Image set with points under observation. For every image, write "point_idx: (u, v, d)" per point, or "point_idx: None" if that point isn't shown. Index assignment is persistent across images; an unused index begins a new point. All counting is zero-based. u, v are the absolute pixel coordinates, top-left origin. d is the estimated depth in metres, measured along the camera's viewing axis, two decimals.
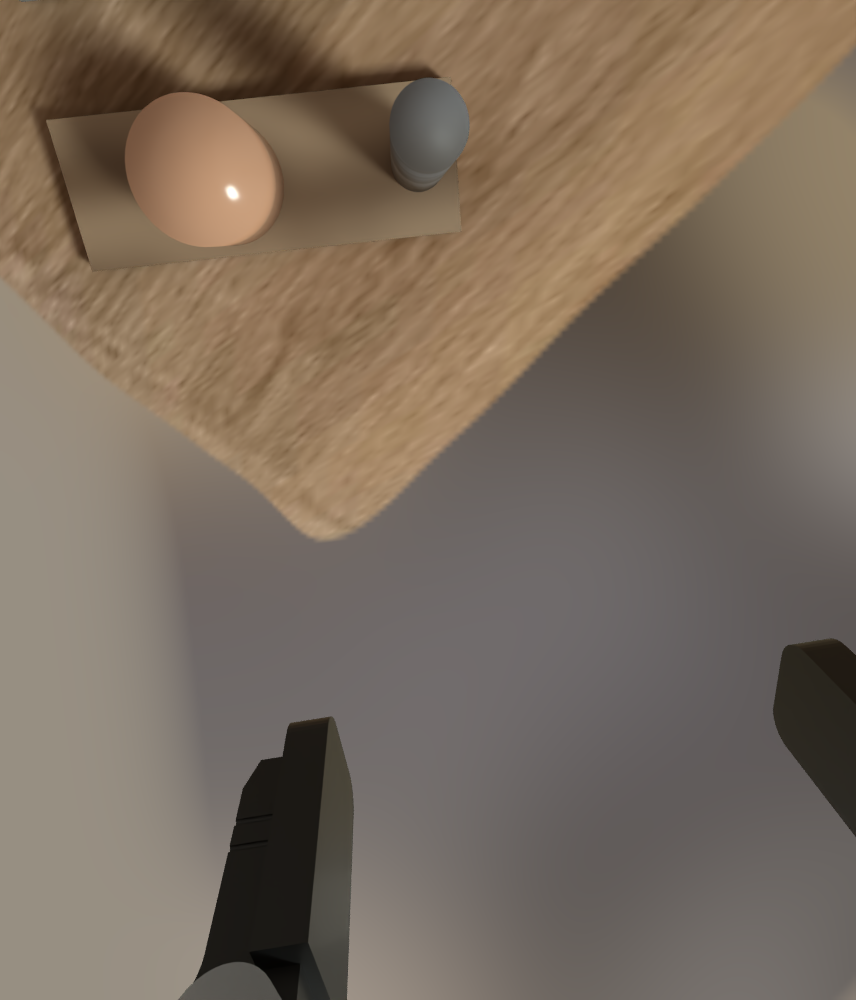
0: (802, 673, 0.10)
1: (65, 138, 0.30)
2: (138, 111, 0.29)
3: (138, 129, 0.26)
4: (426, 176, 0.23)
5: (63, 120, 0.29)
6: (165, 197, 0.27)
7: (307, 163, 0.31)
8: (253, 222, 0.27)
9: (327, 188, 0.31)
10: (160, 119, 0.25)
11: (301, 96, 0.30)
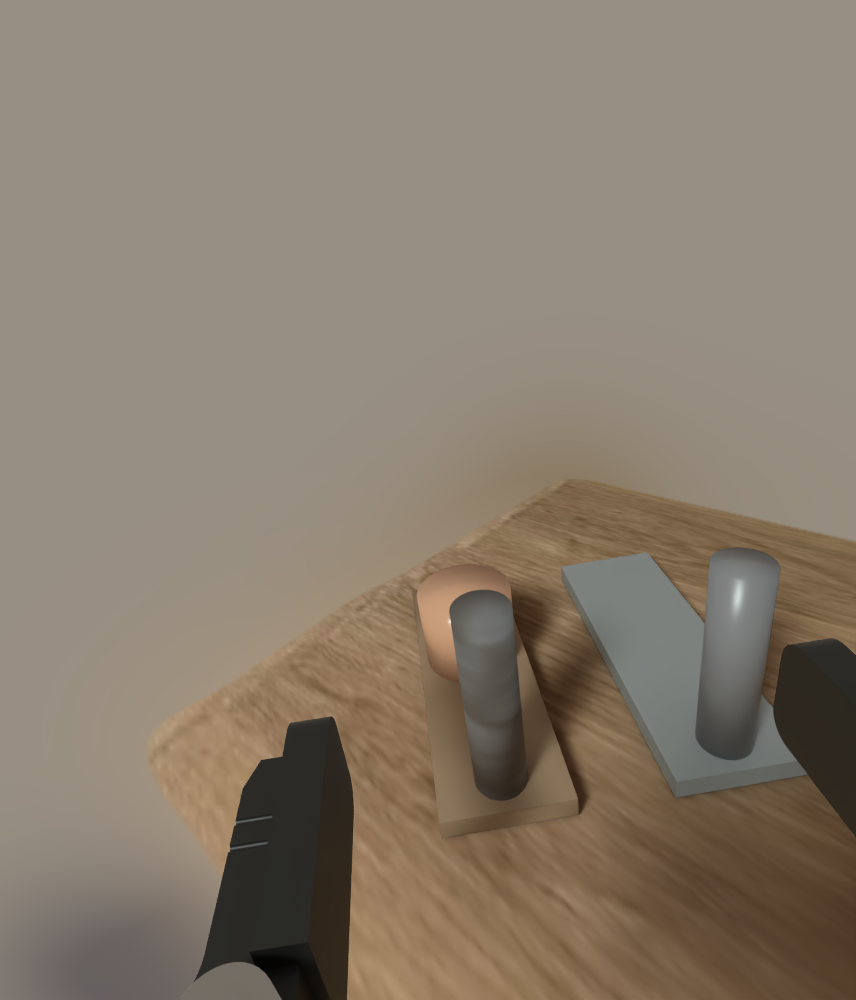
0: (802, 673, 0.10)
1: None
2: None
3: (486, 568, 0.40)
4: None
5: None
6: (448, 578, 0.40)
7: None
8: (433, 616, 0.36)
9: None
10: (493, 576, 0.39)
11: (537, 691, 0.36)
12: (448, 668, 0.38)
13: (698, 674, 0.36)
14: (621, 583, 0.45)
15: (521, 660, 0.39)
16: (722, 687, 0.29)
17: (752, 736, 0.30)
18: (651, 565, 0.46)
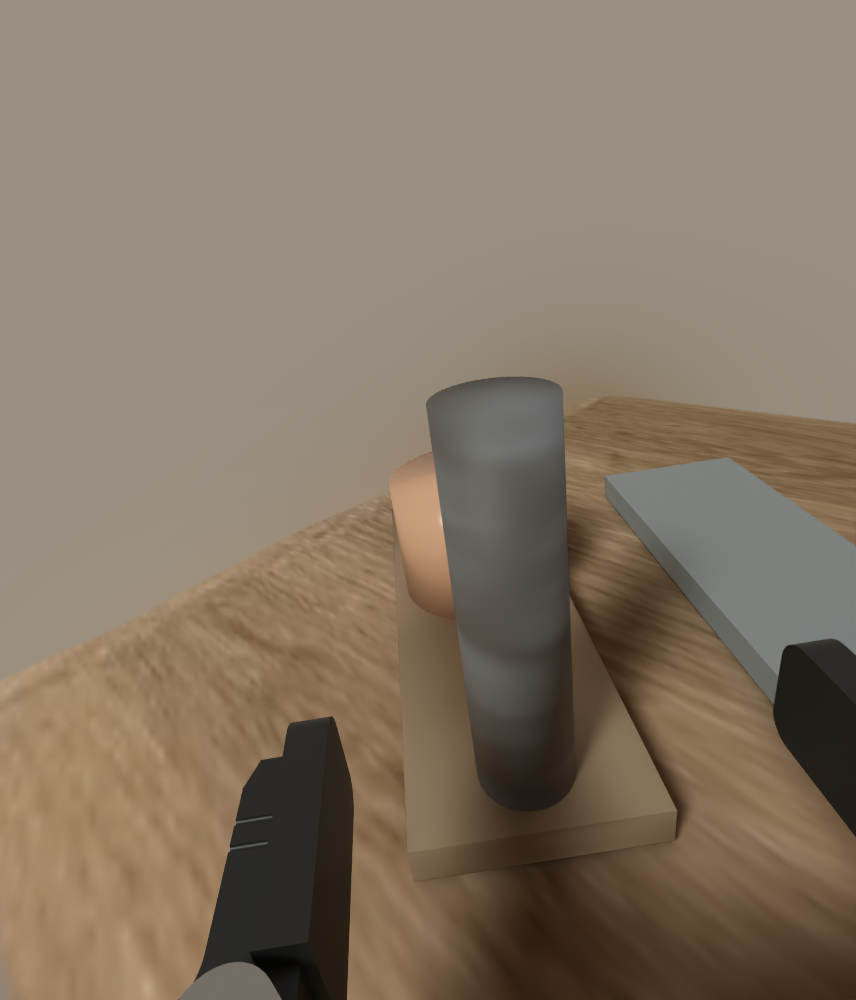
0: (802, 673, 0.10)
1: None
2: None
3: None
4: (438, 494, 0.13)
5: None
6: None
7: None
8: (412, 505, 0.22)
9: None
10: None
11: (582, 631, 0.22)
12: (437, 596, 0.24)
13: (854, 604, 0.21)
14: (697, 492, 0.30)
15: None
16: None
17: None
18: (738, 470, 0.32)
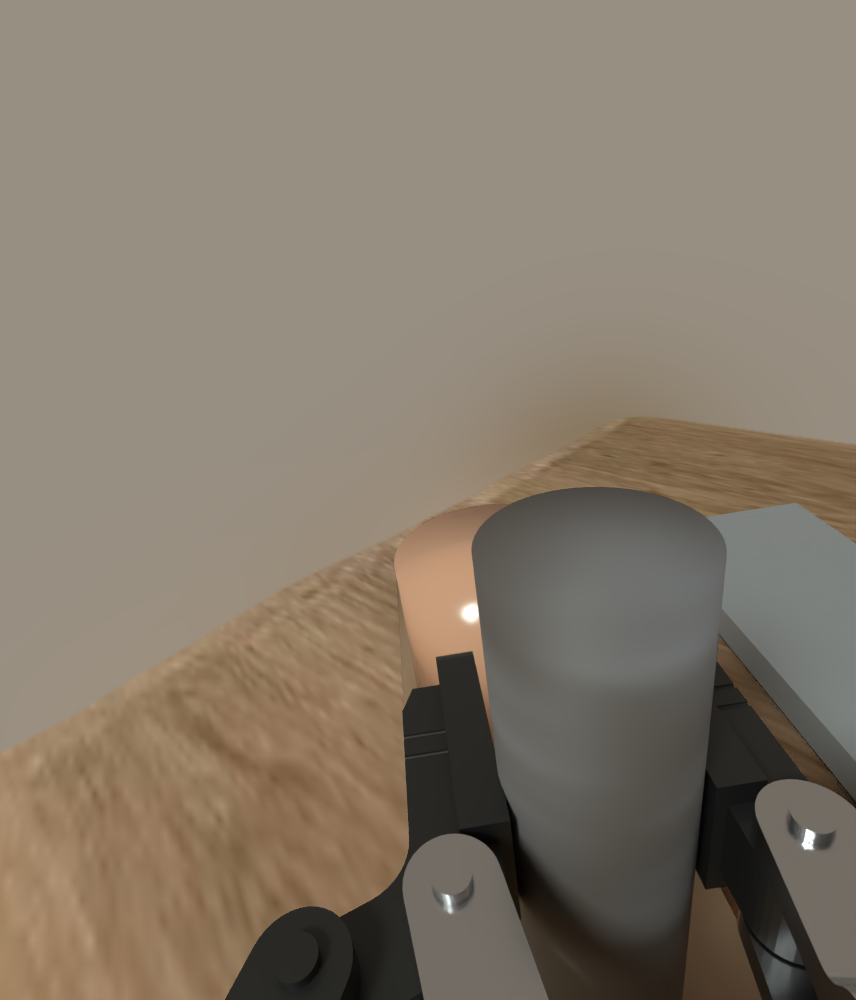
0: None
1: None
2: None
3: None
4: None
5: None
6: (458, 529, 0.20)
7: None
8: (425, 600, 0.17)
9: None
10: None
11: None
12: None
13: None
14: (767, 551, 0.25)
15: None
16: None
17: None
18: (812, 521, 0.27)
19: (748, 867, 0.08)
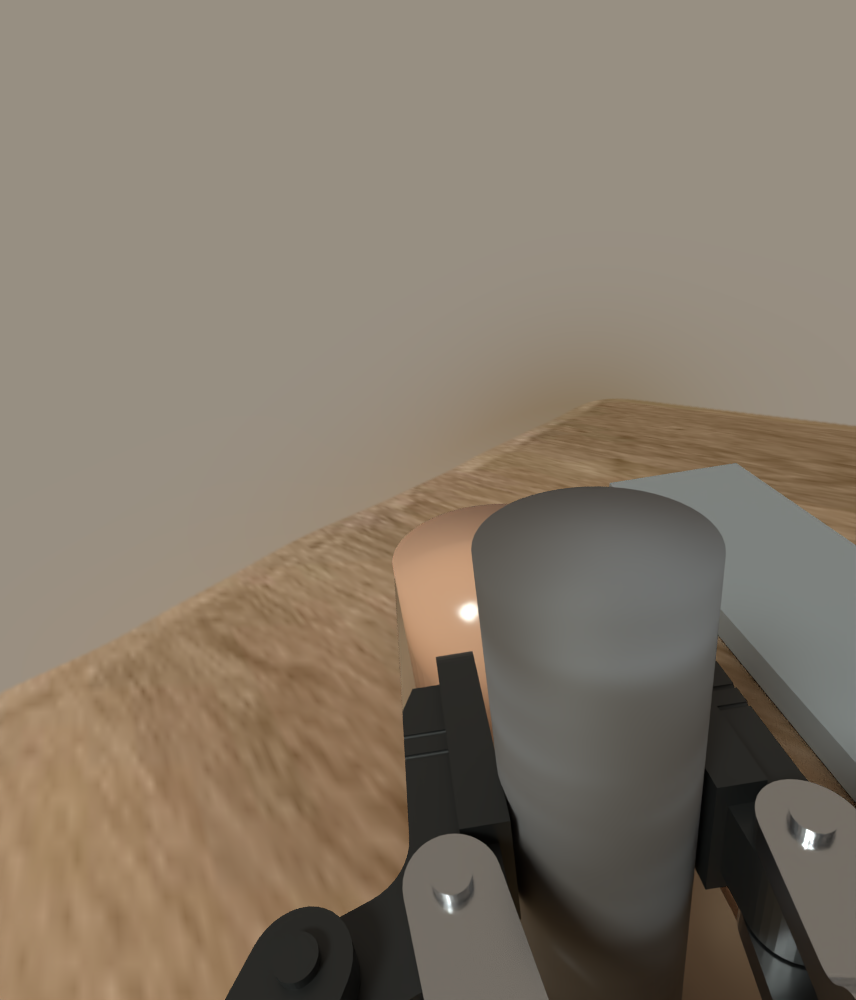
0: None
1: None
2: None
3: None
4: (487, 686, 0.08)
5: None
6: (456, 529, 0.20)
7: None
8: (424, 600, 0.17)
9: None
10: None
11: None
12: None
13: None
14: (706, 499, 0.29)
15: None
16: None
17: None
18: (747, 477, 0.31)
19: (748, 866, 0.08)
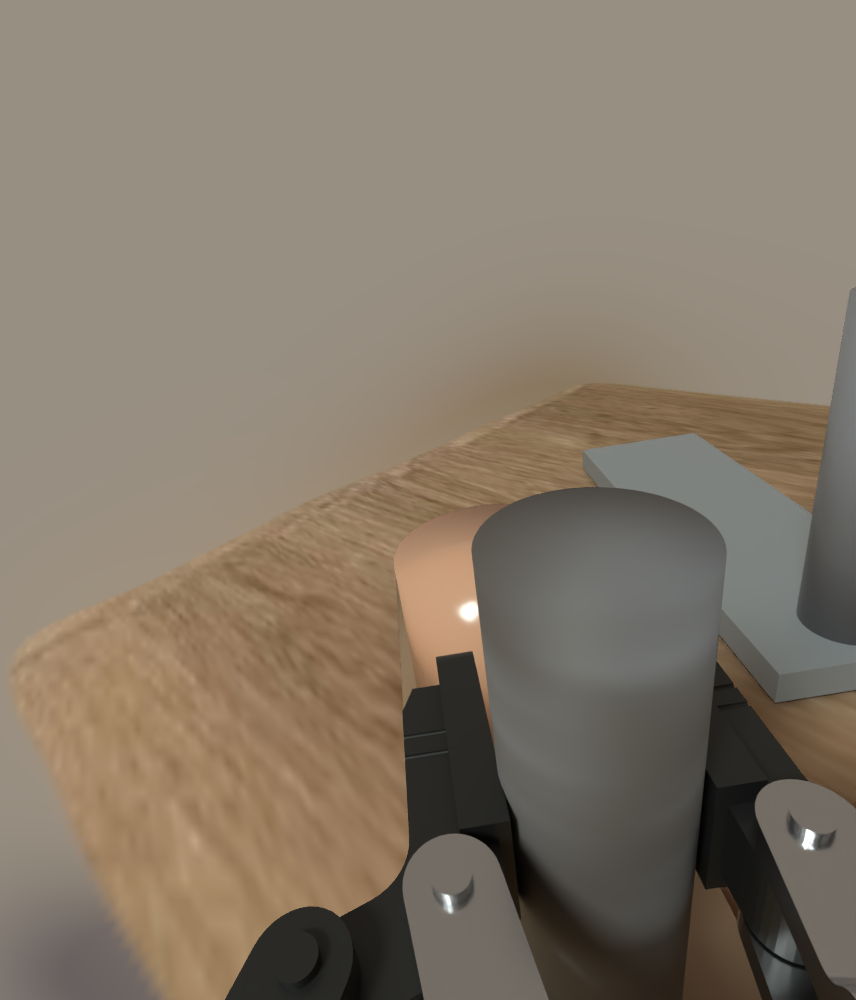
0: None
1: None
2: None
3: None
4: None
5: None
6: (458, 529, 0.20)
7: None
8: (425, 600, 0.17)
9: None
10: None
11: None
12: None
13: (787, 548, 0.25)
14: (664, 462, 0.34)
15: None
16: None
17: None
18: (701, 444, 0.35)
19: (748, 866, 0.08)
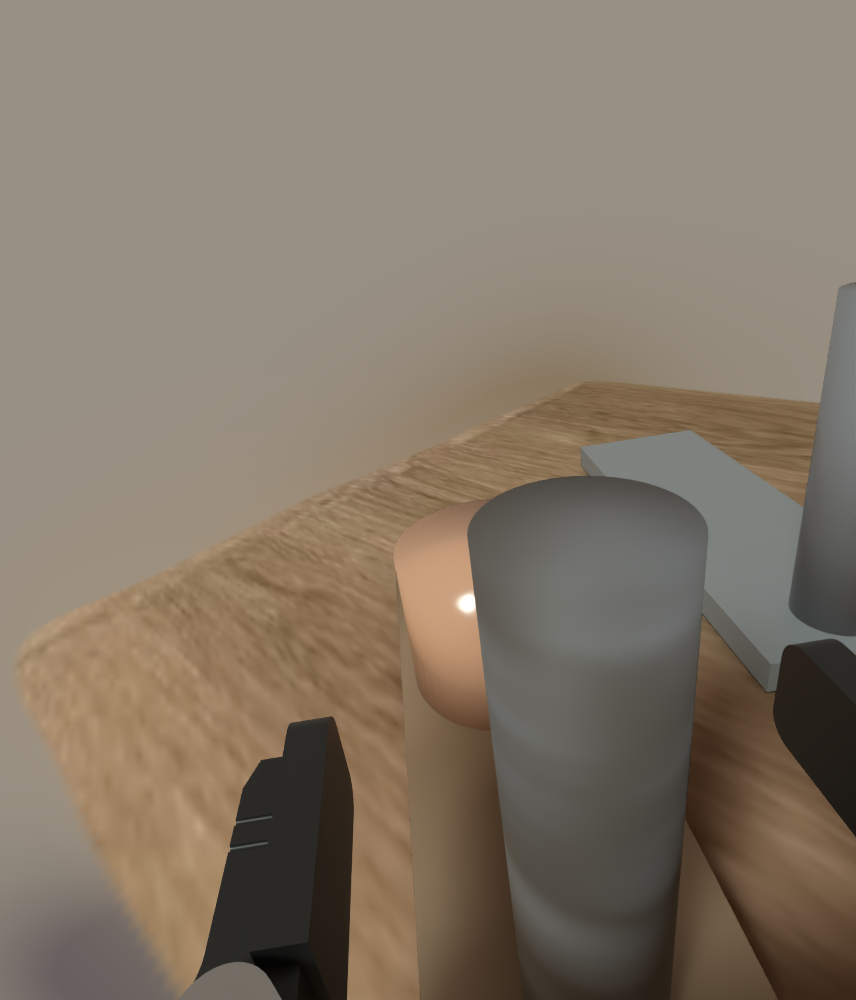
0: (802, 673, 0.10)
1: None
2: None
3: None
4: None
5: None
6: (456, 523, 0.20)
7: None
8: (424, 592, 0.17)
9: None
10: None
11: None
12: (456, 700, 0.18)
13: (781, 542, 0.25)
14: (660, 458, 0.34)
15: None
16: (850, 509, 0.18)
17: None
18: (698, 440, 0.36)
19: None
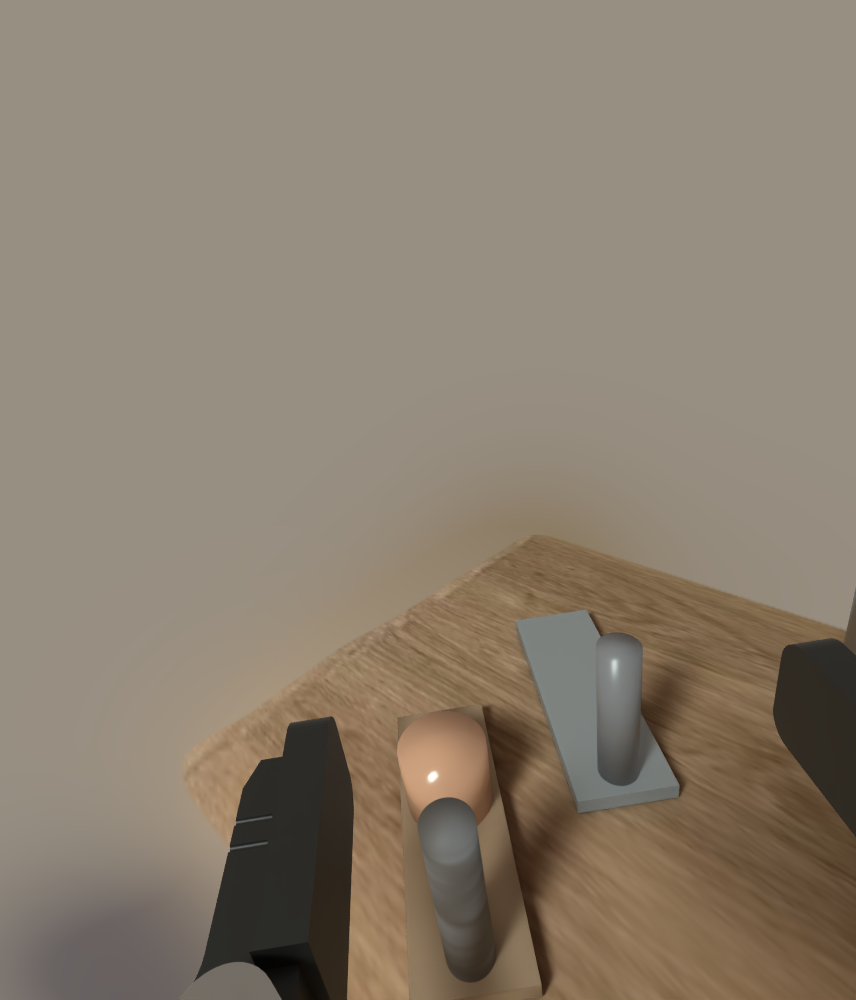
0: (802, 673, 0.10)
1: (472, 711, 0.49)
2: (490, 748, 0.45)
3: (464, 718, 0.42)
4: None
5: (481, 711, 0.49)
6: (427, 729, 0.41)
7: None
8: (411, 777, 0.38)
9: None
10: (470, 729, 0.41)
11: (510, 850, 0.38)
12: None
13: None
14: (561, 637, 0.55)
15: (497, 810, 0.41)
16: (609, 733, 0.39)
17: (634, 768, 0.41)
18: (588, 621, 0.57)
19: None
